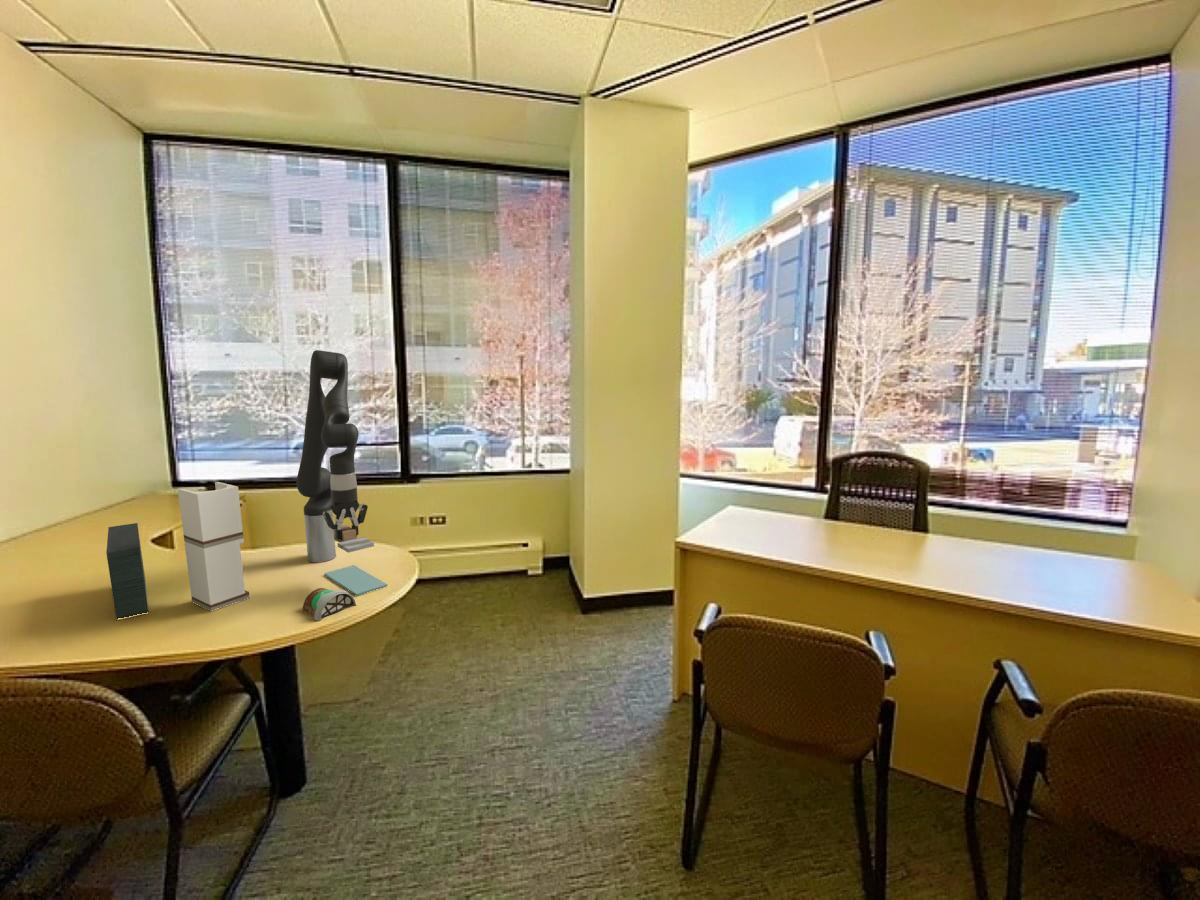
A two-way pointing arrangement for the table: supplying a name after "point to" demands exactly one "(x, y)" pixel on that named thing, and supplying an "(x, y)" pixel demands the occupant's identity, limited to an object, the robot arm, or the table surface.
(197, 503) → the white banded pillar
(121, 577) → the dark grey upright block
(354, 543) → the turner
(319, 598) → the food container
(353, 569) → the mat
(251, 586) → the table surface
